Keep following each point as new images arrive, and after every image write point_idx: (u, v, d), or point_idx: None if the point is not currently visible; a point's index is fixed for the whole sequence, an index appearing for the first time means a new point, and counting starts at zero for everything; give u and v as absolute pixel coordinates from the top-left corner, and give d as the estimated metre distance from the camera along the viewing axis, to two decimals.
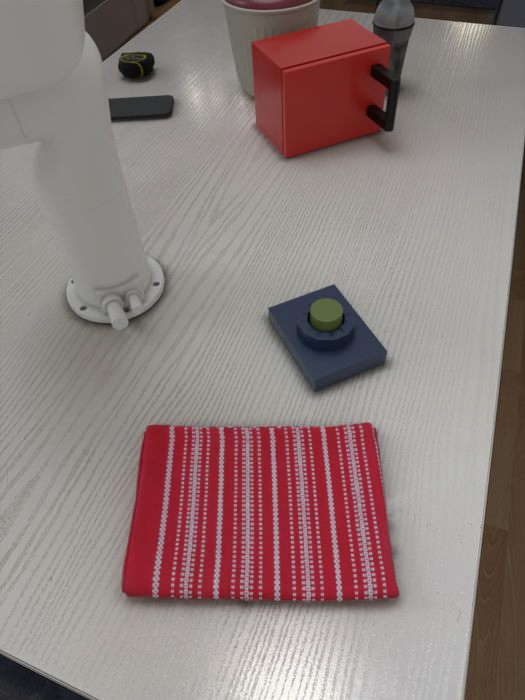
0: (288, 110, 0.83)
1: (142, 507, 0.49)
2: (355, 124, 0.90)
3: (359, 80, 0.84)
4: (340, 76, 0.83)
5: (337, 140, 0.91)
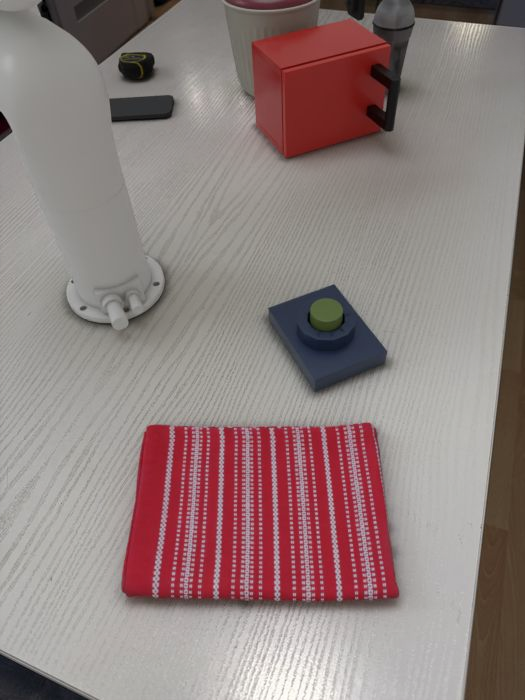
0: (288, 110, 0.83)
1: (142, 507, 0.49)
2: (355, 124, 0.90)
3: (359, 80, 0.84)
4: (340, 76, 0.83)
5: (337, 140, 0.91)
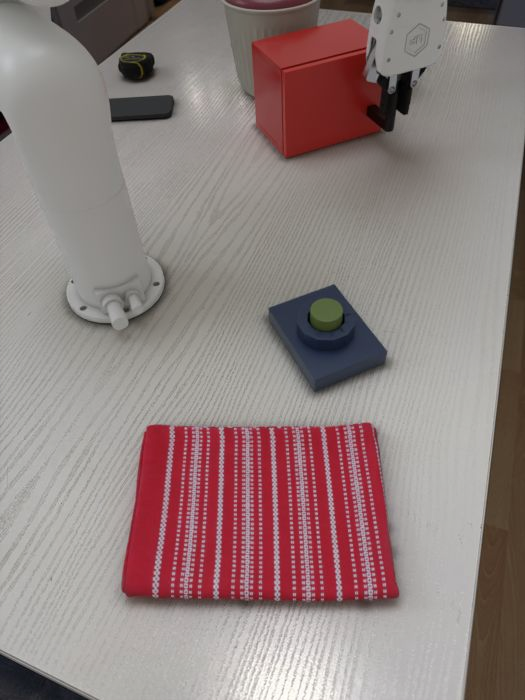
0: (288, 110, 0.83)
1: (142, 507, 0.49)
2: (355, 124, 0.90)
3: (359, 80, 0.84)
4: (340, 76, 0.83)
5: (337, 140, 0.91)
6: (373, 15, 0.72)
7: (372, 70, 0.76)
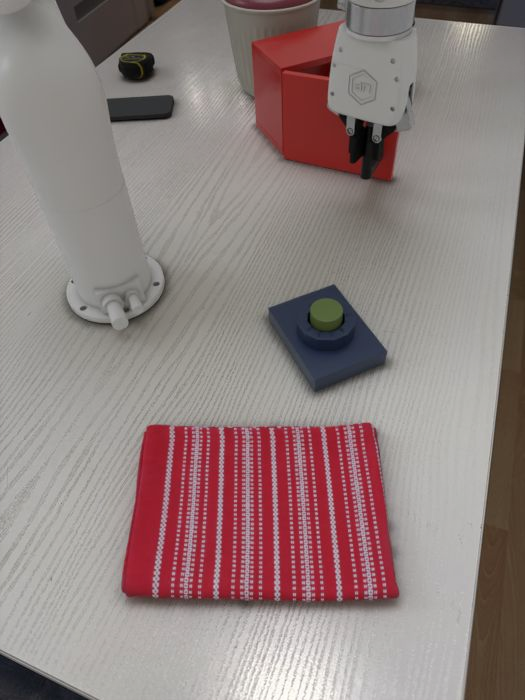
0: (285, 112, 0.83)
1: (142, 507, 0.49)
2: (359, 160, 0.83)
3: None
4: None
5: (338, 166, 0.86)
6: None
7: None
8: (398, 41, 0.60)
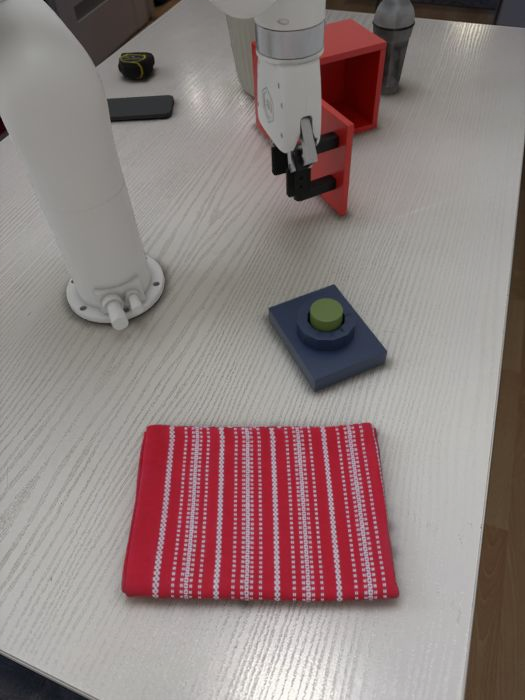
0: None
1: (142, 507, 0.49)
2: None
3: None
4: None
5: None
6: None
7: None
8: (282, 67, 0.57)
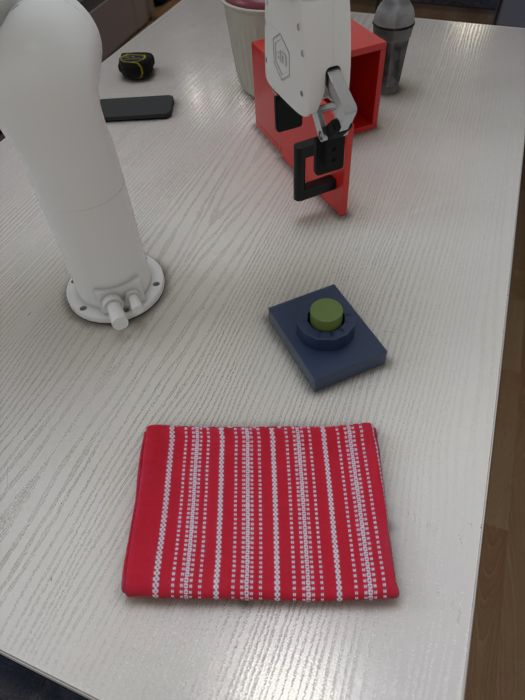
0: None
1: (142, 507, 0.49)
2: None
3: None
4: (312, 117, 0.75)
5: None
6: None
7: None
8: (303, 0, 0.45)
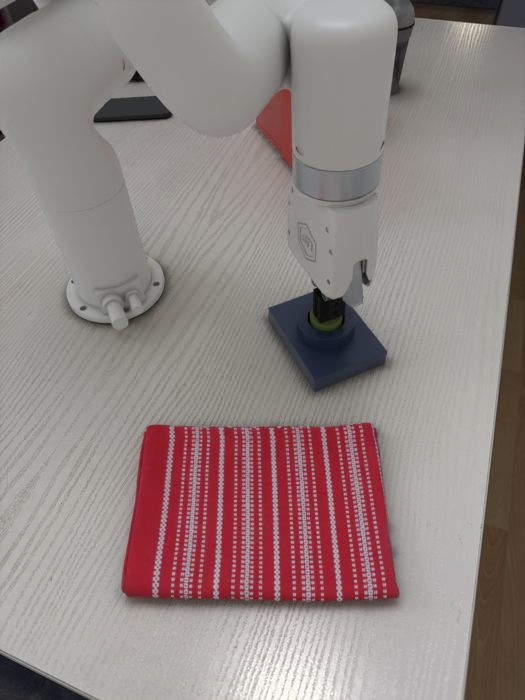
0: (282, 112, 0.83)
1: (142, 507, 0.49)
2: None
3: None
4: None
5: None
6: None
7: None
8: (333, 210, 0.45)
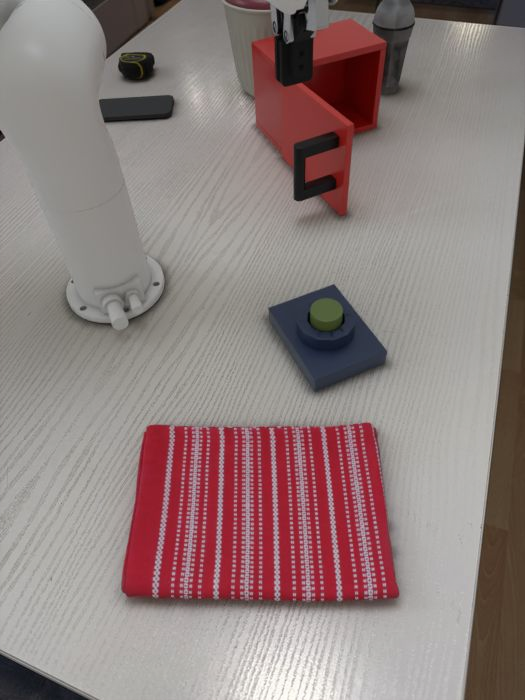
0: (282, 112, 0.83)
1: (142, 507, 0.49)
2: None
3: None
4: (312, 117, 0.75)
5: None
6: None
7: None
8: None
